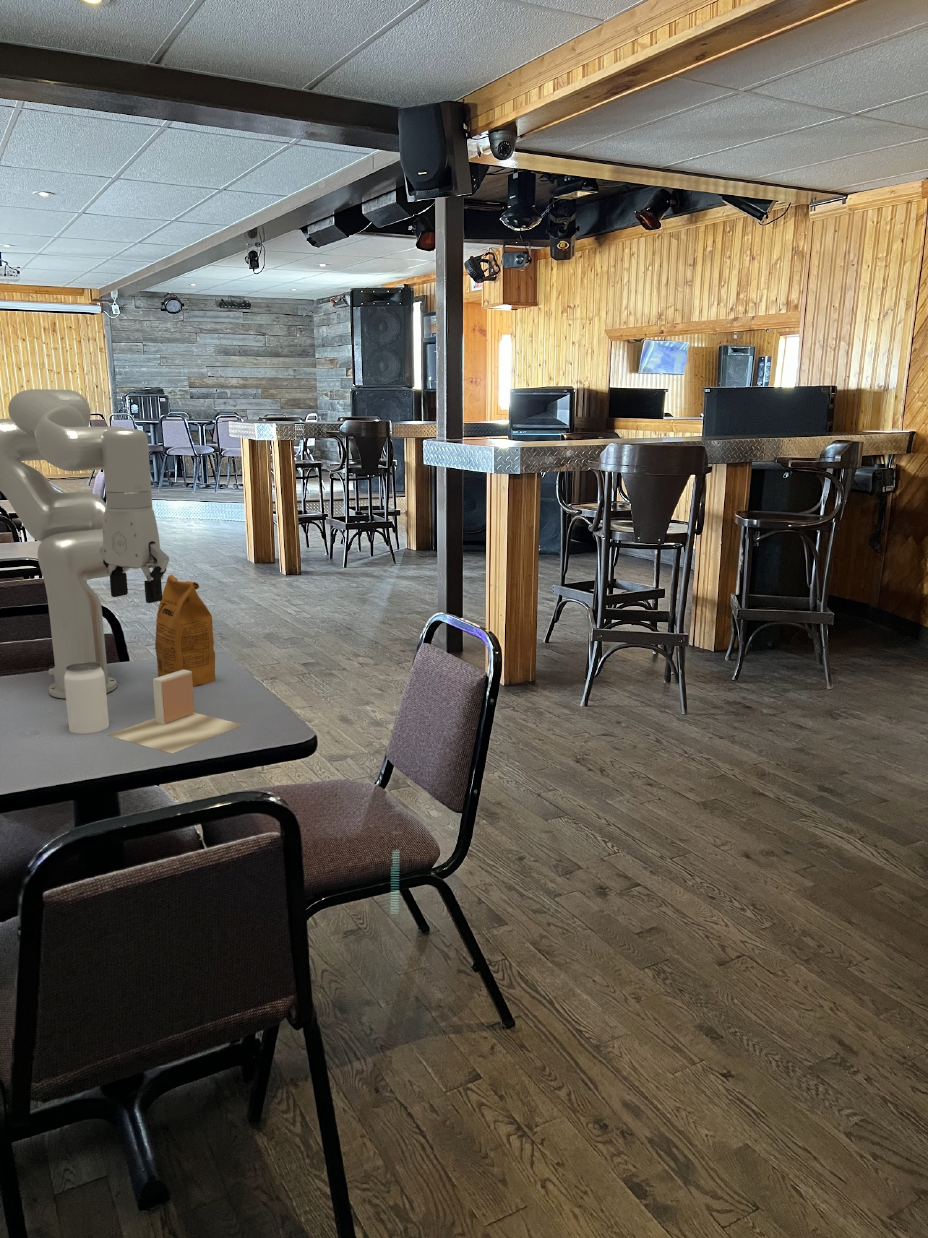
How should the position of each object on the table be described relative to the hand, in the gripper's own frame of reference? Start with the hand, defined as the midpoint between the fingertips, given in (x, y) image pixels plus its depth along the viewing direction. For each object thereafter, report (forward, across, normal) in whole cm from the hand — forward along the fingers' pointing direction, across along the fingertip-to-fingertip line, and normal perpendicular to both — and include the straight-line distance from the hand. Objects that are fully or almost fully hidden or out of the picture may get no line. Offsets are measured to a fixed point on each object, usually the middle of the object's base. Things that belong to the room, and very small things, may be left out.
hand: (136, 598), depth 164 cm
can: (+22, -1, -11) cm, 25 cm away
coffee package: (+22, -9, +18) cm, 30 cm away
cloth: (+22, +13, -4) cm, 26 cm away
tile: (+21, +8, 0) cm, 22 cm away
